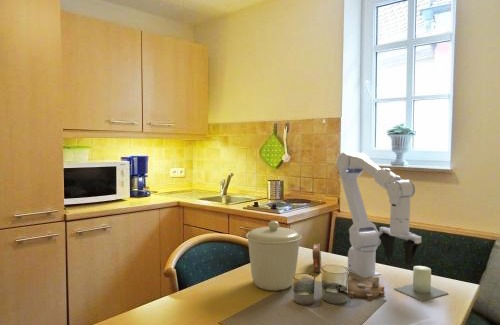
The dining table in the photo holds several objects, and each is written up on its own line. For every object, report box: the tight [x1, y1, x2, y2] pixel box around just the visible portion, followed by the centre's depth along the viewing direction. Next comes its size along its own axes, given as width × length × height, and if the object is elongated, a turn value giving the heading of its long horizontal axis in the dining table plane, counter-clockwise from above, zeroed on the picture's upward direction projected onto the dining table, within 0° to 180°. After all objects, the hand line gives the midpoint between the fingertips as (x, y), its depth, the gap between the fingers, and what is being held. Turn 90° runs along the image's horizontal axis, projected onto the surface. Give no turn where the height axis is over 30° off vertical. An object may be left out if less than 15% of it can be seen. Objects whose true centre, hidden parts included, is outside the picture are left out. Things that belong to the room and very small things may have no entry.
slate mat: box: [394, 283, 449, 302], centre depth 116 cm, size 10×12×1 cm
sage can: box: [412, 265, 432, 294], centre depth 116 cm, size 5×5×7 cm
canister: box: [245, 220, 303, 291], centre depth 121 cm, size 18×18×21 cm
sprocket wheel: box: [347, 275, 385, 301], centre depth 116 cm, size 14×14×4 cm
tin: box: [312, 243, 322, 273], centre depth 138 cm, size 15×3×8 cm, turn 168°
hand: (398, 260), depth 118 cm, fingers open, 7 cm apart
